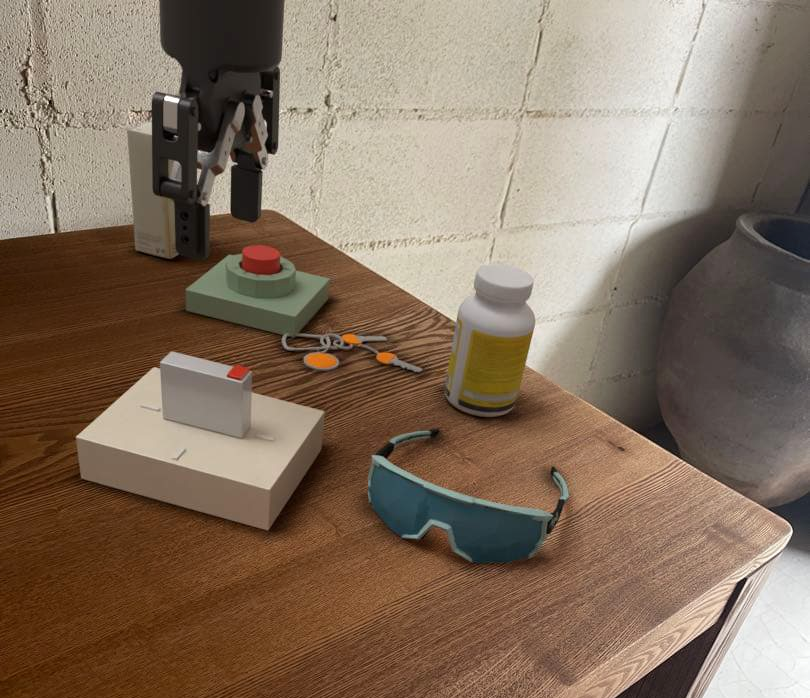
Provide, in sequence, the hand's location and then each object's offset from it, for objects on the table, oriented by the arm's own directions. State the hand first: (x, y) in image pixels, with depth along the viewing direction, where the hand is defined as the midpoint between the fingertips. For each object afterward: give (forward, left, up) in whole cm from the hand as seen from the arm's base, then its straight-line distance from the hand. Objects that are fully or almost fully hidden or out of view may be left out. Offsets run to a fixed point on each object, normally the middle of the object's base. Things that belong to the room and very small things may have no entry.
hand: (220, 236), depth 62 cm
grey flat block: (+3, -9, -10) cm, 14 cm away
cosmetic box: (-18, +26, -14) cm, 35 cm away
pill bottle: (+20, +10, -14) cm, 26 cm away
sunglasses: (+22, -5, -14) cm, 26 cm away
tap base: (+3, -9, -14) cm, 16 cm away
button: (-4, +18, -10) cm, 21 cm away
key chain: (+7, +13, -14) cm, 21 cm away
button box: (-4, +18, -14) cm, 23 cm away
